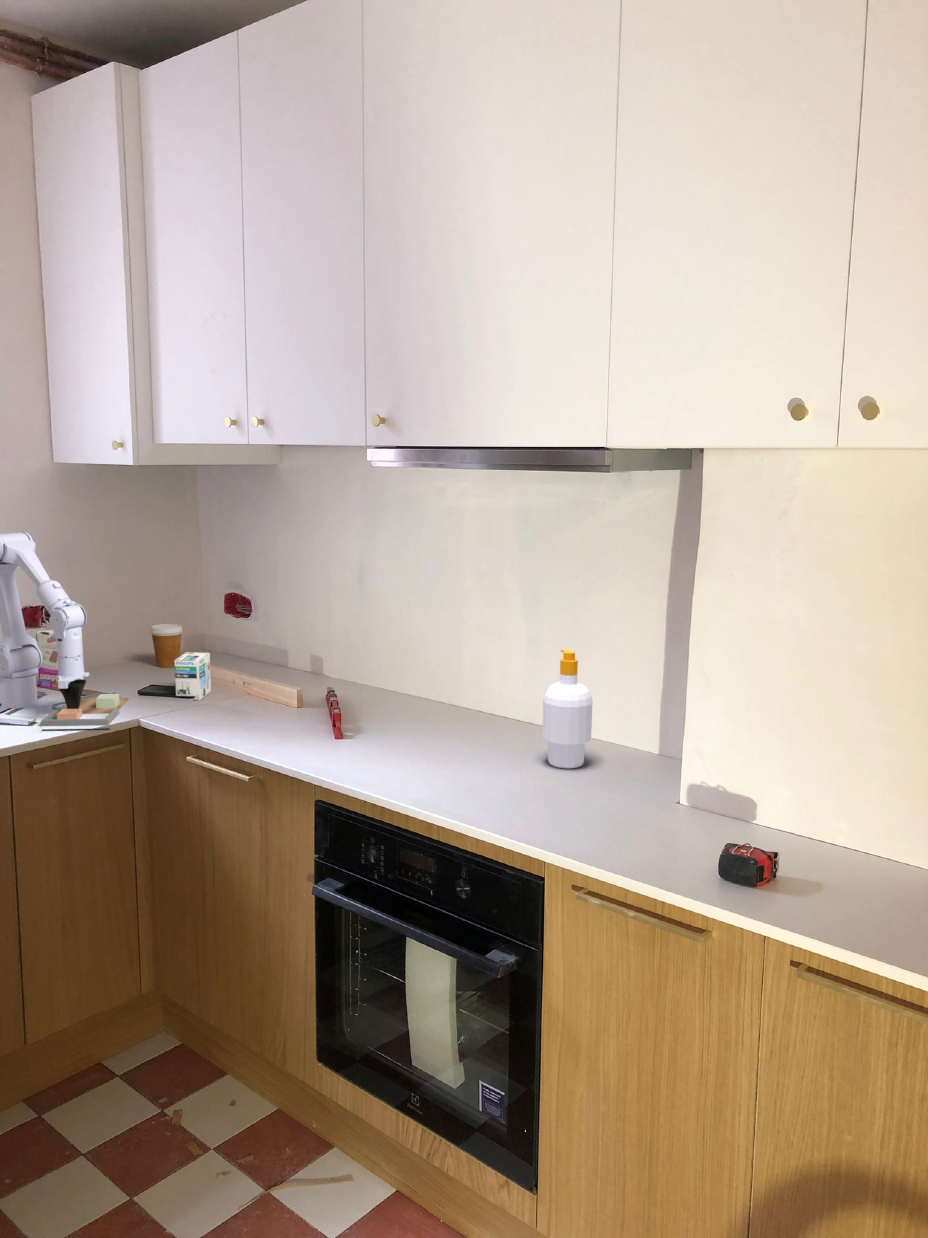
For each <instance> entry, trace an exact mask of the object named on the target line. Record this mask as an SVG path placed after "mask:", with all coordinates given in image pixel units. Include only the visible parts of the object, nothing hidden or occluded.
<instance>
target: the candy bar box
mask: <svg viewBox="0 0 928 1238" xmlns="http://www.w3.org/2000/svg"><path fill="white" fill-rule="evenodd" d="M35 640H36V641H37V645H38V648H39V649H40V651H41V653H42V657H43V661H42V665H41V667H40V668H39V669H38V686H39V687H38V688H39V689H48V688H49V689H56V690H57V689H58V658H57V641H56V638H55V636H54V632H53V628H52V629H51V628H46V629H45V628H44V629H42V630H38V631H35ZM80 679H84V680H85V677H83V678H80ZM58 690H59V689H58Z"/></svg>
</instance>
